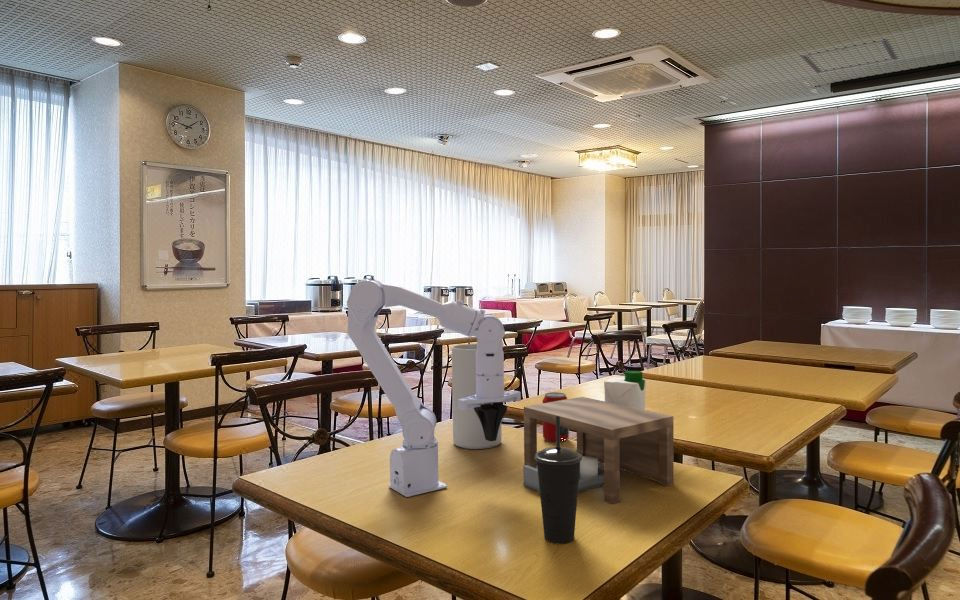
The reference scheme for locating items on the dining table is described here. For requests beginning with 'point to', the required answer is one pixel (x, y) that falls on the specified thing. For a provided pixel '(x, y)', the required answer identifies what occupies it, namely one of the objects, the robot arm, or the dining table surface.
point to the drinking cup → (558, 489)
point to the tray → (588, 475)
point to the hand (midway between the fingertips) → (490, 440)
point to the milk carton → (626, 390)
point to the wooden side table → (609, 438)
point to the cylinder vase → (464, 385)
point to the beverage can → (550, 428)
